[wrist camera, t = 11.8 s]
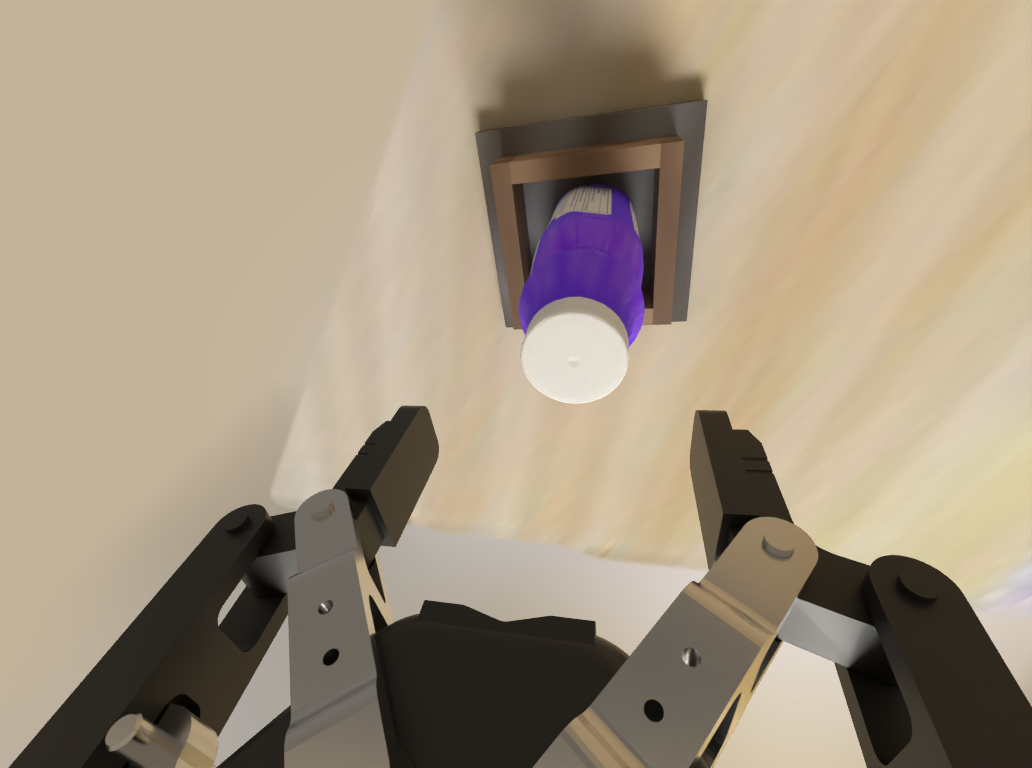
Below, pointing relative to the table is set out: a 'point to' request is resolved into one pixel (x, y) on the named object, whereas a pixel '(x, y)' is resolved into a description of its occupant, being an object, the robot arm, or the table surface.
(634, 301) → the bottle
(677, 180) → the open box
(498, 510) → the table surface
